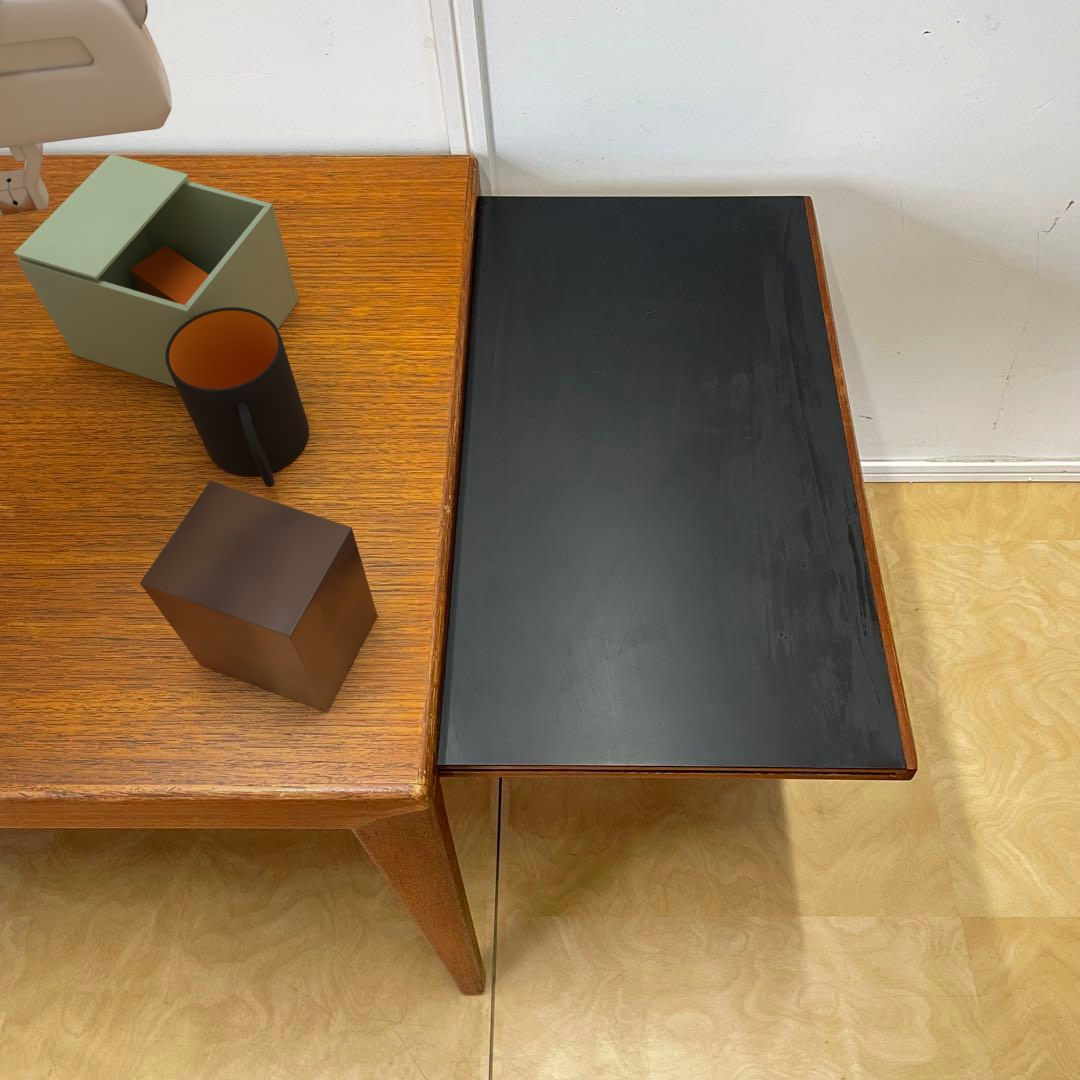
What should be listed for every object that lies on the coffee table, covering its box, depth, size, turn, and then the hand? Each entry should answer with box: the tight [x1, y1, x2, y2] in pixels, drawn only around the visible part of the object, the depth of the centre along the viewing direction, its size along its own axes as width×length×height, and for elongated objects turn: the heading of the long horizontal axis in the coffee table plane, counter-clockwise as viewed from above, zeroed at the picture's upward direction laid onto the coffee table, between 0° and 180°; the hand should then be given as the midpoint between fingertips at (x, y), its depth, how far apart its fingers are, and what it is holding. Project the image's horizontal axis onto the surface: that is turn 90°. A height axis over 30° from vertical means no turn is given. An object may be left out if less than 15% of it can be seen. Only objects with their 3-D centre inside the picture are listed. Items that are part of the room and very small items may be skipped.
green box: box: [16, 180, 300, 389], centre depth 77 cm, size 15×13×10 cm
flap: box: [13, 153, 190, 280], centre depth 73 cm, size 7×13×1 cm, turn 160°
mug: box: [165, 307, 310, 488], centre depth 70 cm, size 8×12×10 cm
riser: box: [139, 480, 378, 713], centre depth 61 cm, size 10×8×12 cm
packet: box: [130, 246, 209, 305], centre depth 81 cm, size 8×4×3 cm, turn 52°
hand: (22, 206), depth 54 cm, fingers closed
